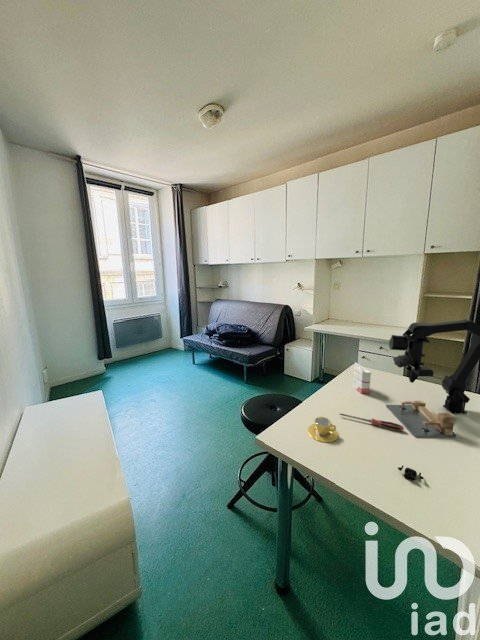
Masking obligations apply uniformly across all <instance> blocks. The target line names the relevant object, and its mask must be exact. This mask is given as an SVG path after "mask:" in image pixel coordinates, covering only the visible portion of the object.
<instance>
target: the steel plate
mask: <svg viewBox="0 0 480 640" xmlns="http://www.w3.org/2000/svg"><path fill="white" fill-rule="evenodd" d="M385 406H386V407H385V408H386V409H388V411H390V412H391V414H392V415H393V416H394V417H395V418H396V419H397V420H398V422H400V423H401V424H402V426H403V427H404V428H405V429H406V430H407V431H408V432H409V433H410V434H411V435H412V436H413V438H458V434H457V433H456V432H455V431H453V434H452V435H445V434H444V433H443V432H441V431H440V430H439V429H437V428H436V426H435V425H428V429H427V430H425V425H424V424H423V421H430V420H429V419H428V418H426V417H425V416H424V415H423V414H422V413H421V412H420V411H419V410H417V409H414V408H413V407H412V406H413V405H412V404H405V405H404V409H403V408H402V404H386V405H385Z"/></svg>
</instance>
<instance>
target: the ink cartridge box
mask: <svg viewBox="0 0 480 640" xmlns="http://www.w3.org/2000/svg"><path fill="white" fill-rule="evenodd" d="M371 375H372V372H371V371H369V370H368V369H366V368H365V367H363V366H362V365H361V364H360V363H357V362H354V367H353V379H352V380H353V381H352V387H353V388H354V389H355V390H356V391H357V392H359V393H360V394H369V393H370V389H371V377H372V376H371Z"/></svg>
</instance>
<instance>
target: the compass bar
mask: <svg viewBox="0 0 480 640" xmlns="http://www.w3.org/2000/svg"><path fill="white" fill-rule="evenodd" d="M399 404H400V405H402V408H403V409H404V405H413V406H412V407H413V408H414V409H417V410H419V411H420V412H421V413H422V414H423V415H424V416H425V417H426V418H428V419H429V420H430V421H437V416H436V414H434V413H433V412H432V411H431V410H429V409H428V408H427V407H426V405H427V403H426V402H425V401H424V400H409V401H408V400H407V401H406V400H402V401H400V402H399ZM435 426H436V425H435ZM453 432H454V429H453V430H452V429H451V428H443V433H444V434H445V435H452V434H453Z"/></svg>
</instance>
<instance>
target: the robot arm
mask: <svg viewBox="0 0 480 640" xmlns="http://www.w3.org/2000/svg"><path fill="white" fill-rule="evenodd" d="M459 331H467V332H468V333H469V334H471V337H470V347H469V349H468V350H467V352H466V353H465V355H464V356H463V358H462V359H461V361H460V363H459V365H458V366H457V367H456V370H455V371H454V373H452V374H451V375H448V374H446V375H445V376H444V378H443V380H442V381H441V387H442V389H443V390H444V391H445V393H446V394H447V395H446V398H445V401H444V404H443V405H442V407H443V408H445V410H447V411H449V413H450V414H452V415H453V414H455V415H456V414H458V415H459V414H461V415H462V414H463V415H464V414H466V415H467V414H468V412H467V411H466V410H465V408H466V404H468V403H469V401H470V400H471V398H470V397H468V396H467V395H466V394H465V391H466V389H467V380H468V378H469V376H470V375H471V373H472V372H473V370H474V369H475V367H476V366H477V365H478V362H479V361H480V325H478V324H477V323H476V322H475V321H473V320H470V319H467V318H466V319H461V320H451V321H444V322H435V323H430V322H429V323H427V322H412V323H411V324H410V325H409V326H408V328H407V329H406V330H405V332H403V334H402V335H395V334H392V335H391V337H390V338H389V341H388V346H389V349H390V350H392V351H405V352H404V354H399V355H398V356H395V357H393V358H392V360H393V362H394V365H395V366H397V367H398V368H399V369H400V368H404V369H405V370H406V372H407V376H408V380H409V382H410V383H413V384H414V382H415V381H416V380H417V379H418V377H434V370H432V369H431V368H430V367H428V366H424V365H425V363H424V362H423V357H425V356H426V354H425V353H424V347H425V346H424V345H425V343H430V342H431V340H429V339H428V337H430V336H433V335H435V334H440V333H450V332H459Z"/></svg>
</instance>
